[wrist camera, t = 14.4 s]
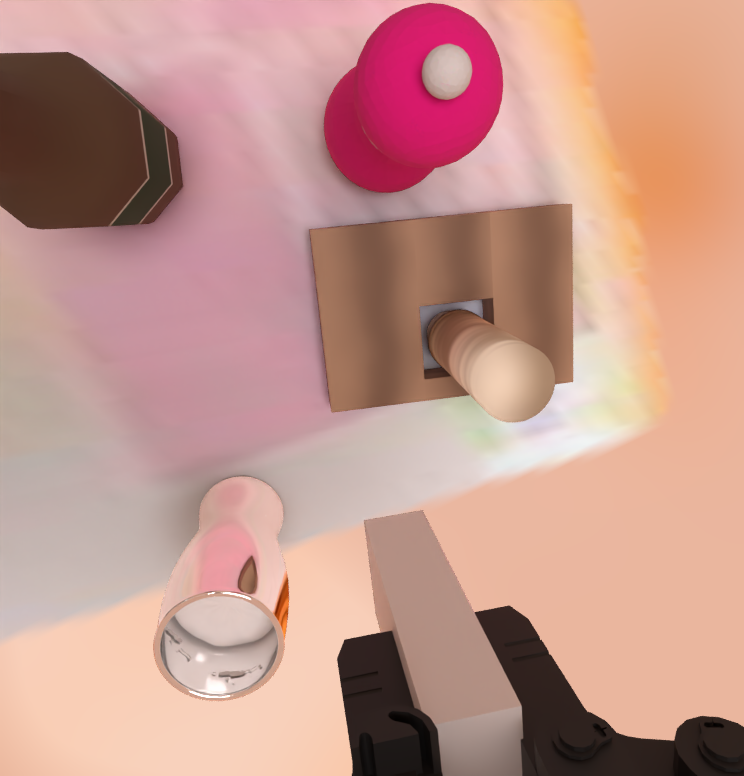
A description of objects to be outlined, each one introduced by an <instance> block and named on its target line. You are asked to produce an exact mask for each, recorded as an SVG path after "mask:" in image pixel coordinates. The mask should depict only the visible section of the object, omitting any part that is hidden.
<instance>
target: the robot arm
mask: <svg viewBox="0 0 744 776" xmlns="http://www.w3.org/2000/svg"><path fill="white" fill-rule="evenodd" d="M364 524H365V532H366V539H367V548H368V556H369V564H370V572H371V580H372V588H373V596H374V604H375V611H376V616H377V620H378V624H379V628H380V631H381V633H376V634H371V635H366V636H362V637H356V638H351V639H346V640H344V643H343V645H342V648H341V650H340V653H339V655H338V658H337V661H338V667H339V675H340V681H341V688H342V694H343V701H344V708H345V715H346V721H347V727H348V734H349V741H350V748H351V754H352V761H353V773H352V776H744V727H743V726H741V725H739V724H738V723H735V722H732V721H729V720H726V719H723V718H719V717H707V716H700V717H696V718H692V719H689V720H686V721H685V722H684V723H683V724H682V725H680V726H679V728H677V731H676V736H675V740H674V741H670V740H655V739H641V738H635V737H628V736H625V735H621V734H619V733H616V732H615V731H614V729H613V728H611V726H610V725H609V724H608V723H607V722H606V721H605V720H603V719H601V718H599V717H598V716H596V715H594V714H592V713H590V712H587V711H586V709H585V708H584V707H583V705H582V704H581V702H580V700H579V699H578V697H577V696H576V694H575V692H574V691H573V689H572V688H571V686H570V684H569V683H568V681H567V680H566V678H565V677H564V675H563V673H562V672H561V670H560V669H559V667H558V666H557V664H556V662H555V661H554V659H553V658H552V656H551V655H549V652H548V650H547V648H546V647H545V645H544V643H543V642H542V640H540V638H539V635H538V634H537V632H536V631H535V629H534V627H533V626H532V624H531V623H530V621H529V619H528V618H526V617H525V616H523V615H522V614H521V613H519V612H518V611H516V610H515V609H513V608H512V607H511V606H505V607H500V608H494V609H489V610H484V611H479V612H474V611H473V609H472V607H471V605H470V603H469V601H468V599H467V597H466V595H465V593H464V591H463V589H462V587H461V585H460V583H459V581H458V580H457V577H456V575H455V573H454V571H453V570H452V568H451V566H450V564H449V562H448V560H447V558H446V556H445V554H444V552H443V550H442V548H441V546H440V544H439V542H438V540H437V538H436V536H435V534H434V532H433V530H432V528H431V526H430V524H429V522H428V520H427V518H426V516H425V514H424V512H423V510H421V511H415V512H409V513H404V514H398V515H392V516H386V517H381V518H375V519H369V520H364Z"/></svg>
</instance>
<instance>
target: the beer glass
mask: <svg viewBox="0 0 744 776" xmlns="http://www.w3.org/2000/svg"><path fill="white" fill-rule="evenodd" d="M283 517H284V511H283V506H282V502H281V500H280V498H279V496H278V494H277V493H276V492H275V491H274V489H273V488H272V487H270V486H269V485H268V484H266V483H265V482H263V481H261V480H259V479H256V478H252V477H246V476H237V477H231V478H228V479H225V480H222V481H220V482H219V483H217V484H216V485H214V486H213V487H212V488H211V489H210V490H209V491H208V492H207V493H206V495H205V496H204V498H203V500H202V502H201V505H200V510H199V526H200V529H199V530H198V532H197V533H196V534H195V536H194V537H193V538H192V540H191V541H190V543H189V544H188V545H187V547H186V548H185V550H184V551H183V553H182V555H181V556H180V558H179V560H178V561H177V563H176V565H175V567H174V569H173V571H172V574H171V576H170V579H169V581H168V584H167V587H166V590H165V594H164V598H163V601H162V606H161V611H160V615H159V621H158V627H157V631H156V633H155V638H154V644H153V650H154V657H155V661H156V664H157V667H158V668H159V670H160V672H161V674H162V675H163V677H164V678H165V679H166V680H167V681H168V682H169V683H170V684H171V685H172V686H173V687H175V688H176V689H178V690H179V691H181V692H182V693H184V694H186V695H189V696H191V697H194V698H198V699H202V700H210V701H224V700H231V699H236V698H239V697H243V696H245V695H247V694H249V693H252V692H253V691H255V690H257V689H259V688H260V687H261V686H263V685H264V684H265V683H266V682H267V681H268V680H269V679H270V678H271V677H272V676H273V675H274V673H275V672H276V670H277V669H278V667H279V665H280V663H281V660H282V657H283V653H284V645H285V644H284V640H285V634H286V628H287V620H288V608H289V586H288V577H287V571H286V566H285V562H284V559H283V555H282V552H281V549H280V546H279V543H278V540H277V537H278V535H279V532H280V530H281V527H282V524H283Z"/></svg>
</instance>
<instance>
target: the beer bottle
mask: <svg viewBox="0 0 744 776" xmlns="http://www.w3.org/2000/svg"><path fill="white" fill-rule="evenodd" d="M182 187H183V184H182V176H181V167H180V159H179V151H178V142H177V137H176V136H175V134H174V133H173V132H172V131H171V130H169V129H168V128H167V127H166V126H165V125H164V124H163V123H162V122H161V121H159V120H158V119H157V118H156V117H155V116H154V115H153V114H152V113H151V112H149V111H148V110H147V109H146V108H145V107H144V106H143V105H142V104H141V103H139V102H138V101H137V100H136V99H135V98H134V97H133V96H132V95H130V94H129V93H128V92H126V91H125V90H124V89H122V88H121V87H120V86H118V85H117V84H116V83H114V82H113V81H112V80H110V79H109V78H108V77H106V76H105V75H103V74H102V73H101V72H99V71H98V70H97V69H95V68H94V67H93V66H91V65H90V64H89V63H87V62H86V61H85V60H83V59H82V58H79V57H77V56H75V55H73V54H71V53H69V52H51V53H0V206H1V207H3V208H4V209H5V210H7V211H8V212H9V213H10V214H12V215H13V216H14V217H15V218H17V219H18V220H19V221H20V222H22V223H23V224H24V225H25V226H27V227H30V228H37V229H61V228H82V227H103V226H120V225H135V224H149V223H152V222H154V221H155V220H156V218H157V217H158V216H159V215H160V214H161V212H162V211H163V210H164V209H165V207H166V206H167V205H168V204H169V203H170V201H171V200H172V199H173V198H174V197H175V195H176V194H177V193H178V192H179V190H180V189H181V188H182Z"/></svg>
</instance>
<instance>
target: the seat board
mask: <svg viewBox="0 0 744 776" xmlns="http://www.w3.org/2000/svg"><path fill="white" fill-rule="evenodd" d="M309 231H310V240H311V248H312V257H313V265H314V274H315V282H316V291H317V299H318V308H319V316H320V325H321V333H322V341H323V350H324V358H325V367H326V375H327V384H328V392H329V401H330V406H331V411H332V412H340V411H348V410H356V409H364V408H372V407H380V406H387V405H395V404H403V403H411V402H419V401H427V400H434V399H442V398H450V397H458V396H466V395H470V394H469V393H468V392H467V391H466V390H465V389H464V388H463V387H462V386H461V385H460V384H459V383H458V382H457V381H456V380H455V379H454V378H453V377H452V376H451V375H450V374H449V373H448V372H447V371H446V370H445V369H444V368H436V369H428V370H424V365H423V351H422V337H421V324H420V310H419V306H427V305H435V304H444V303H453V302H462V301H471V300H480V299H483V319H484V320H485V321H487V322H489V323H491V324H493V325H495V326H496V327H498V328H500V329H502V330H504V331H505V332H507V333H509V334H511V335H513V336H515V337H516V338H518V339H520V340H522V341H524V342H525V343H527V344H529V345H531V346H533V347H534V348H536V349H538V350H540V351H541V352H542V353H544V354H545V355H546V356H547V358H548V359H549V360H550V362H551V364H552V366H553V369H554V373H555V384H560V383H568V382H573V261H572V204H558V205H547V206H537V207H527V208H517V209H507V210H497V211H487V212H477V213H467V214H457V215H447V216H437V217H428V218H418V219H408V220H398V221H388V222H378V223H368V224H358V225H348V226H338V227H328V228H318V229H309Z"/></svg>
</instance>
